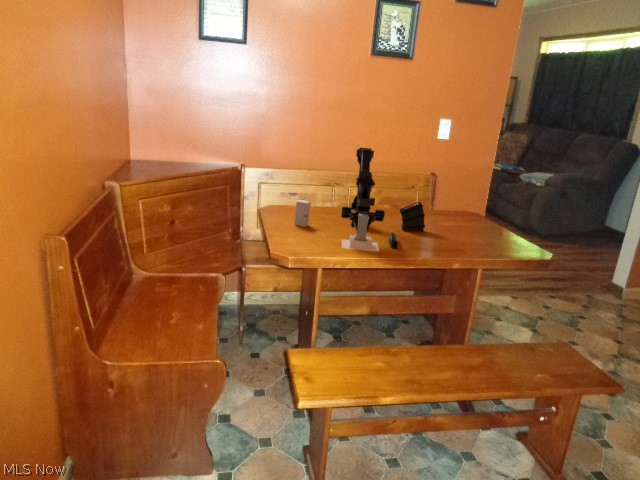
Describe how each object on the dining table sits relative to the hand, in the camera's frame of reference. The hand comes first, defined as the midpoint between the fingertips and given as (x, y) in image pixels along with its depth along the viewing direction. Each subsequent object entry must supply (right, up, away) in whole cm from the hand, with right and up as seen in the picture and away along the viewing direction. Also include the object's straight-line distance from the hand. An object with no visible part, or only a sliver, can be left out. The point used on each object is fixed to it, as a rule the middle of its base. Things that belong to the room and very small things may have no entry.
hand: (361, 230), depth 200 cm
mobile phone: (+15, -7, +11) cm, 19 cm away
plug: (0, -5, +3) cm, 6 cm away
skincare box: (-27, +3, +29) cm, 40 cm away
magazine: (+28, +1, +36) cm, 45 cm away
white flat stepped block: (-1, -7, +4) cm, 8 cm away
